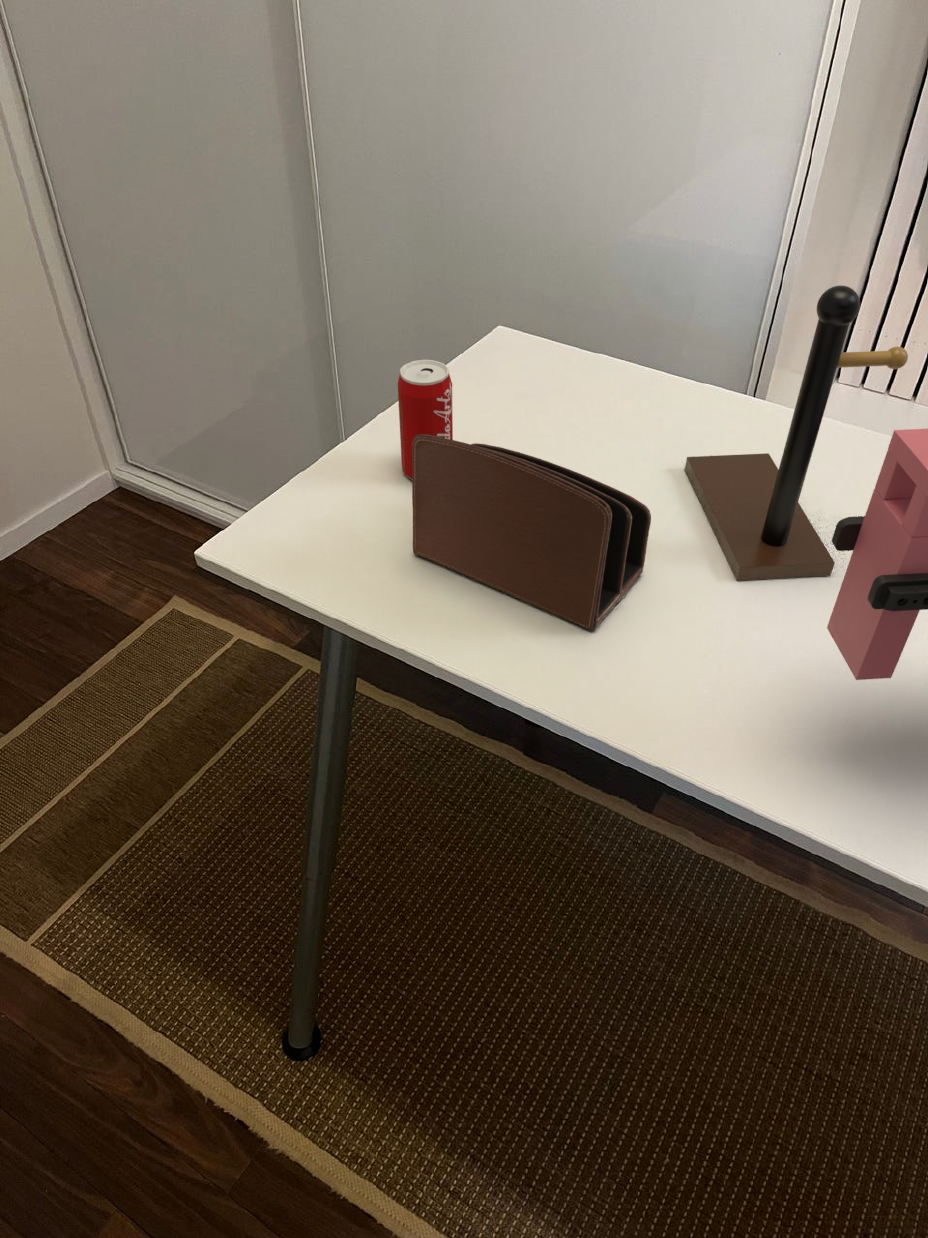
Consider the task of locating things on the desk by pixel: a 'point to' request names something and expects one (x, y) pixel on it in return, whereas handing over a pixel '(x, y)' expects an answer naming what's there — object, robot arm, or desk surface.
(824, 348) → the stand
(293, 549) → the desk surface
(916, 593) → the robot arm
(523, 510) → the letter holder
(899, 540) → the pink block with hole
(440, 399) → the soda can
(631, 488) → the desk surface
